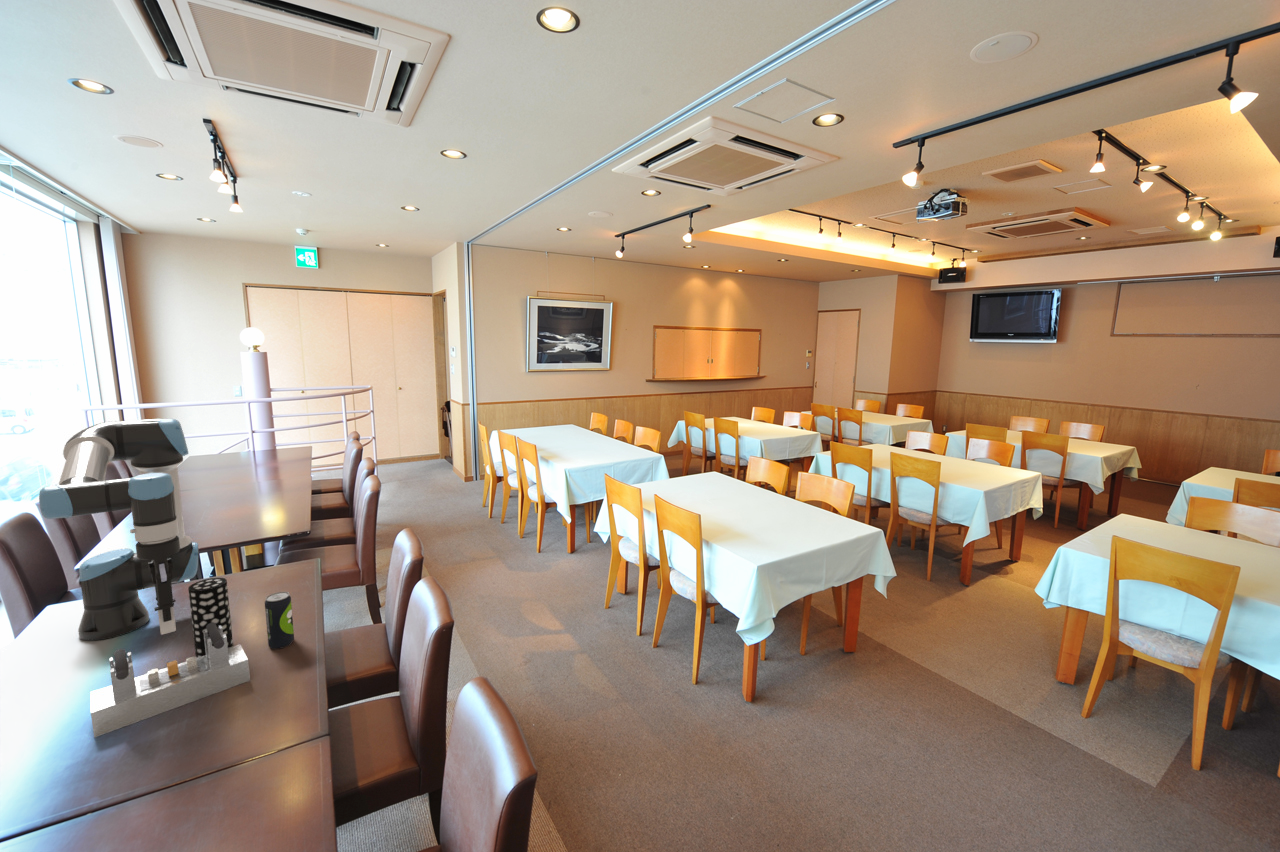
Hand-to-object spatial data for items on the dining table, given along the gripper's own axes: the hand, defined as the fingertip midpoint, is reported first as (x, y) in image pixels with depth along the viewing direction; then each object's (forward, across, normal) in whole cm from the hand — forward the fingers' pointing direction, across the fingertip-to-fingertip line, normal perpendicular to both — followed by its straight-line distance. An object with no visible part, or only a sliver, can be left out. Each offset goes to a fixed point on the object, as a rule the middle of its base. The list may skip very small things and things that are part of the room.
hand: (168, 631), depth 124 cm
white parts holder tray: (+18, 0, 0) cm, 18 cm away
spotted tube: (+18, -19, +10) cm, 28 cm away
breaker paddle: (+11, 0, 0) cm, 11 cm away
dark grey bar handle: (+6, 0, -8) cm, 10 cm away
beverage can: (+18, -9, +24) cm, 31 cm away
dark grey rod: (+6, 0, +8) cm, 10 cm away
